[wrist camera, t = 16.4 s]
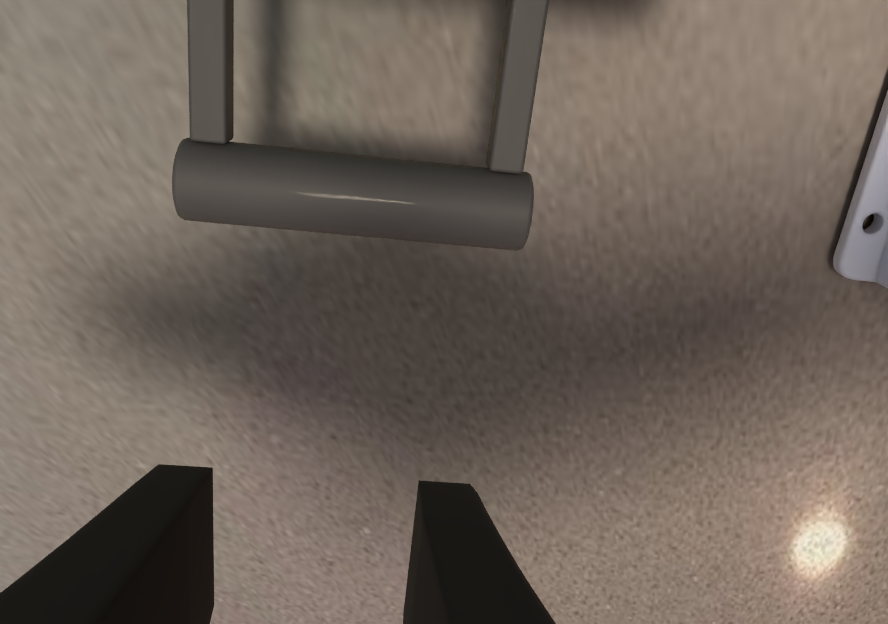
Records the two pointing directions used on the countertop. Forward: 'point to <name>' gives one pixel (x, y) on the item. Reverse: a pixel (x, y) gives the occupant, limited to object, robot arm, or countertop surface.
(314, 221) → the drawer
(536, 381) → the countertop surface
